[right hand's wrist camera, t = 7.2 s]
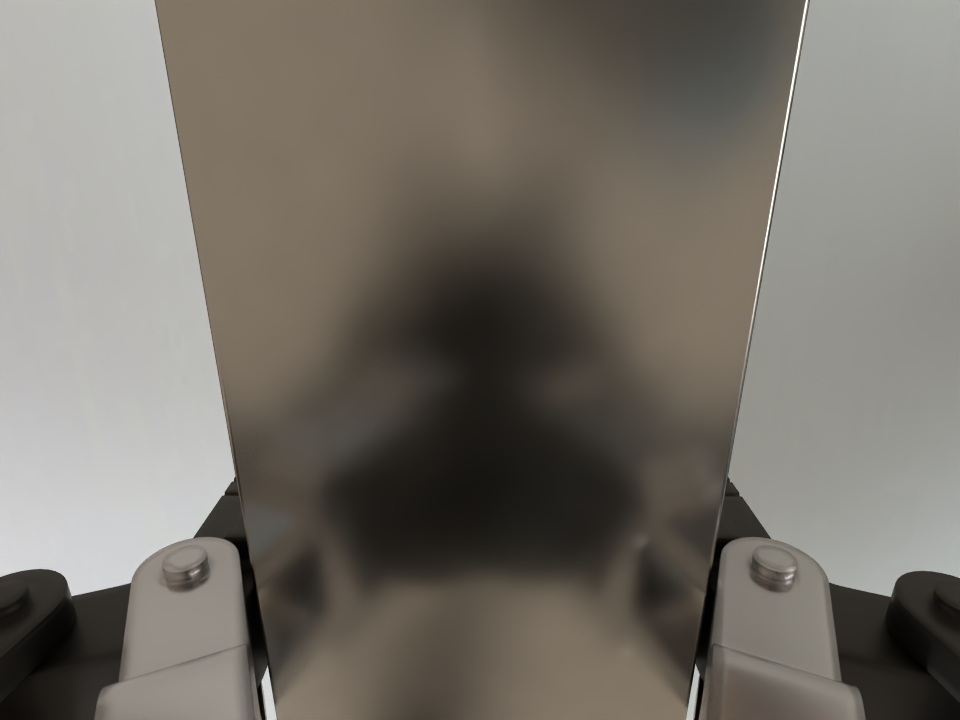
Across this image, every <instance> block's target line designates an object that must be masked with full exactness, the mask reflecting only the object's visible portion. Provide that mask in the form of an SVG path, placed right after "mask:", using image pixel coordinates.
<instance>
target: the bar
mask: <svg viewBox="0 0 960 720" xmlns="http://www.w3.org/2000/svg"><path fill="white" fill-rule="evenodd" d="M809 2H810V0H155V5H156V11H157V17H158V22H159V28H160V34H161V40H162V46H163V52H164V58H165V64H166V69H167V75H168V81H169V87H170V93H171V99H172V105H173V111H174V116H175V122H176V128H177V134H178V140H179V146H180V152H181V158H182V163H183V169H184V175H185V181H186V187H187V193H188V199H189V205H190V210H191V216H192V222H193V228H194V234H195V240H196V246H197V252H198V258H199V263H200V269H201V275H202V281H203V287H204V293H205V299H206V305H207V310H208V316H209V322H210V328H211V334H212V340H213V346H214V352H215V357H216V363H217V369H218V375H219V381H220V387H221V393H222V399H223V404H224V410H225V416H226V422H227V428H228V434H229V440H230V446H231V451H232V457H233V463H234V469H235V475H236V481H237V487H238V493H239V498H240V504H241V510H242V516H243V522H244V528H245V534H246V540H247V545H248V551H249V557H250V563H251V569H252V575H253V581H254V587H255V592H256V598H257V604H258V610H259V616H260V622H261V628H262V634H263V639H264V645H265V651H266V657H267V663H268V669H269V675H270V681H271V686H272V692H273V698H274V704H275V710H276V716H277V720H686V715H687V710H688V704H689V698H690V692H691V686H692V681H693V675H694V669H695V663H696V657H697V652H698V646H699V640H700V634H701V628H702V623H703V617H704V611H705V605H706V599H707V594H708V588H709V582H710V576H711V570H712V565H713V559H714V553H715V547H716V541H717V536H718V530H719V524H720V518H721V512H722V507H723V501H724V495H725V489H726V484H727V478H728V472H729V466H730V460H731V455H732V449H733V443H734V437H735V431H736V426H737V420H738V414H739V408H740V402H741V397H742V391H743V385H744V379H745V373H746V368H747V362H748V356H749V350H750V344H751V339H752V333H753V327H754V321H755V315H756V310H757V304H758V298H759V292H760V286H761V281H762V275H763V269H764V263H765V257H766V252H767V246H768V240H769V234H770V228H771V223H772V217H773V211H774V205H775V200H776V194H777V188H778V182H779V176H780V171H781V165H782V159H783V153H784V147H785V142H786V136H787V130H788V124H789V118H790V113H791V107H792V101H793V95H794V89H795V84H796V78H797V72H798V66H799V60H800V55H801V49H802V43H803V37H804V31H805V26H806V20H807V14H808V8H809Z"/></svg>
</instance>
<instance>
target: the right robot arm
mask: <svg viewBox="0 0 960 720" xmlns="http://www.w3.org/2000/svg"><path fill="white" fill-rule="evenodd" d="M267 666H268V663H267V657H266V651H265V645H264V639H263V634H262V628H261V622H260V616H259V610H258V604H257V598H256V592H255V587H254V581H253V575H252V569H251V563H250V557H249V551H248V545H247V540H246V534H245V528H244V522H243V516H242V510H241V504H240V498H239V493H238V487H237V481H236V477H235V478H234V482H231V484H230V485H229V487H228V488H227V490H226V491H225V496H222V497H221V498H220V500H219V501H218V503H217V504H216V506H215V507H214V509H213V510H212V511H211V513H210V514H209V516H208V517H207V519H206V520H205V522H204V523H203V525H202V526H201V527H200V529H199V530H198V532H197V533H196V535H195V536H194V538H192V539H187V540H183V541H180V542H177V543H174V544H172V545H169V546H167V547H165V548H163V549H161V550H159V551H158V552H156V553H154V554H153V555H151V556H150V557H149V558H147V559H146V560H145V561H144V562H143V563H142V564H141V565H140V566H139V568H138V569H137V570H136V572H135V574H134V575H133V578H132V582H131V583H129V584H125V585H122V586H117V587H113V588H108V589H104V590H99V591H94V592H90V593H85V594H80V595H76V596H71V593H70V590H69V587H68V584H67V581H66V579H65V577H64V576H63V575H62V574H60V573H58V572H56V571H52V570H46V569H34V570H26V571H20V572H16V573H12V574H9V575H5V576H2V577H0V720H267V715H266V707H265V699H264V692H263V686H262V679H263V676H264V674H265V671H266V668H267ZM696 666H697V668H698V671H699V673H700V675H699V681H698V687H697V692H696V699H695V707H694V715H693V720H960V578H957V577H954V576H951V575H947V574H943V573H937V572H931V571H914V572H910V573H906V574H904V575H902V576H901V577H899V578H898V579H897V581H896V583H895V586H894V590H893V593H892V596H891V597H888V596H883V595H879V594H874V593H869V592H865V591H860V590H856V589H851V588H846V587H842V586H839V585H835V584H832V583H829V582H828V578H827V575H826V573H825V572H824V570H823V569H822V567H821V566H820V565H819V564H818V563H817V562H816V561H815V560H814V559H813V558H811V557H810V556H809V555H807V554H806V553H804V552H802V551H801V550H799V549H797V548H795V547H793V546H791V545H788V544H786V543H783V542H780V541H777V540H773V539H771V538H770V536H769V535H768V534H767V532H766V531H765V529H764V528H763V526H762V525H761V523H760V522H759V521H758V519H757V518H756V516H755V515H754V513H753V512H752V511H751V509H750V508H749V506H748V505H747V503H746V502H745V501H744V499H743V498H742V497H740V496H739V492H738V490H737V489H736V488H735V486H734V485H733V483H730V479H729V478H727V484H726V489H725V495H724V501H723V507H722V512H721V518H720V524H719V530H718V536H717V541H716V547H715V553H714V559H713V565H712V570H711V576H710V582H709V588H708V594H707V599H706V605H705V611H704V617H703V623H702V628H701V634H700V640H699V646H698V652H697V657H696Z"/></svg>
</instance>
